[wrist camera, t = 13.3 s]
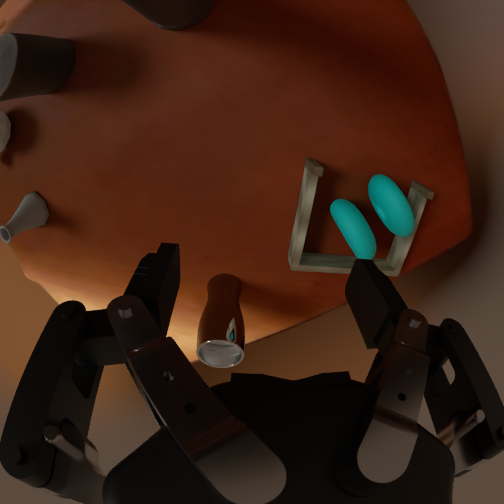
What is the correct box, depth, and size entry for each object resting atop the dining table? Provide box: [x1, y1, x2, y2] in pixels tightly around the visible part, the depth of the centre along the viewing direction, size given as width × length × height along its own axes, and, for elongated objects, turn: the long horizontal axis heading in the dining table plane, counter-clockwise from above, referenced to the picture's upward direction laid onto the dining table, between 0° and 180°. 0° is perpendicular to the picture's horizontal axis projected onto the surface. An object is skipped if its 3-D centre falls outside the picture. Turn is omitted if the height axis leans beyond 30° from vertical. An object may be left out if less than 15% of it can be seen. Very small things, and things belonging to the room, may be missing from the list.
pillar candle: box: [0, 33, 75, 101], centre depth 19 cm, size 10×10×15 cm
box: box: [288, 158, 434, 276], centre depth 40 cm, size 16×20×5 cm
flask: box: [0, 191, 49, 243], centre depth 34 cm, size 7×7×10 cm
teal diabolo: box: [330, 175, 415, 259], centre depth 36 cm, size 10×10×10 cm
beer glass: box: [196, 274, 245, 368], centre depth 42 cm, size 7×7×15 cm
